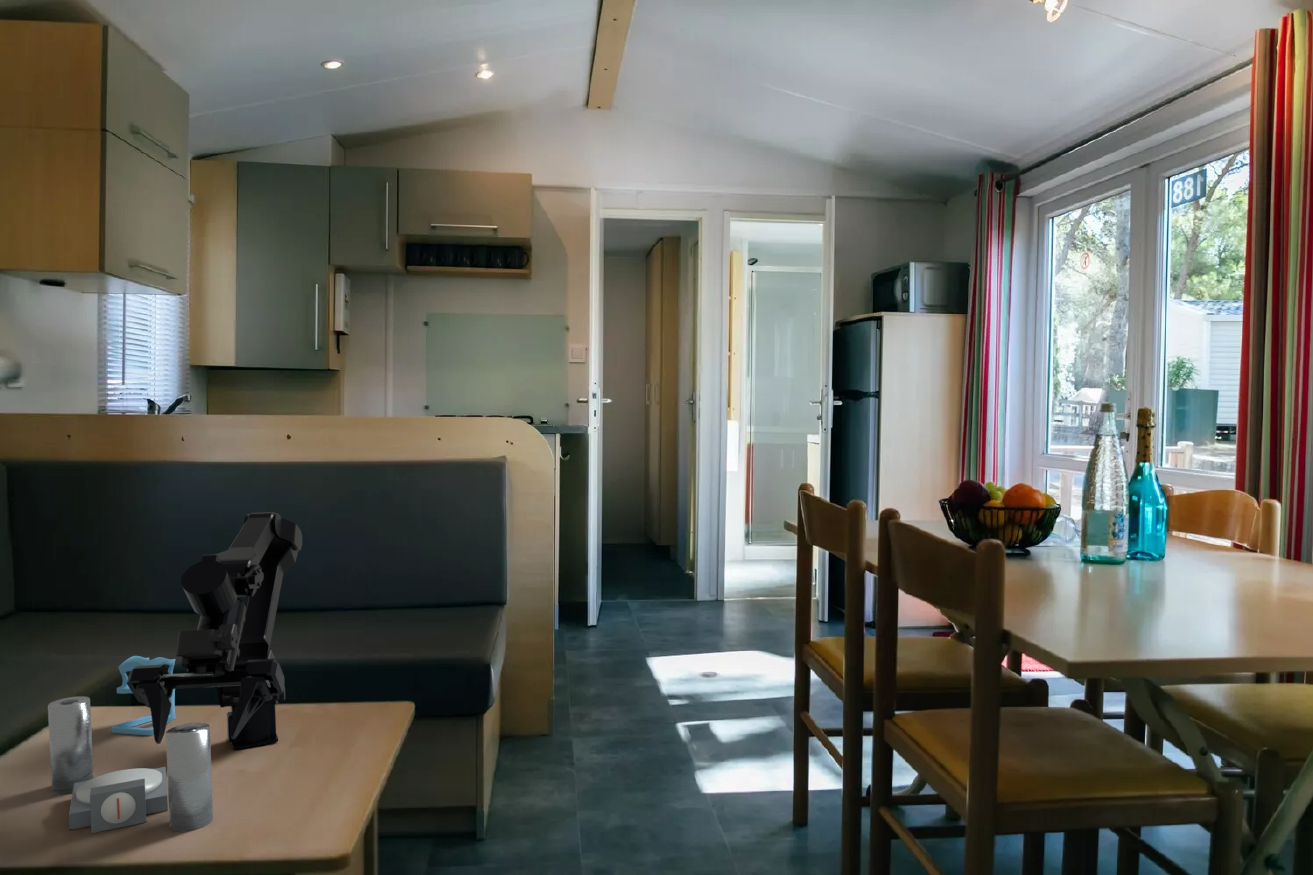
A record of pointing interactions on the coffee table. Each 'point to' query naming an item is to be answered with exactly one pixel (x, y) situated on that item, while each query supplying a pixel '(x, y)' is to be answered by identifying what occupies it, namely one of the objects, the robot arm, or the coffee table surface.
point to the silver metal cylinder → (189, 776)
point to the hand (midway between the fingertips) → (195, 739)
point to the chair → (124, 667)
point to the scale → (118, 799)
